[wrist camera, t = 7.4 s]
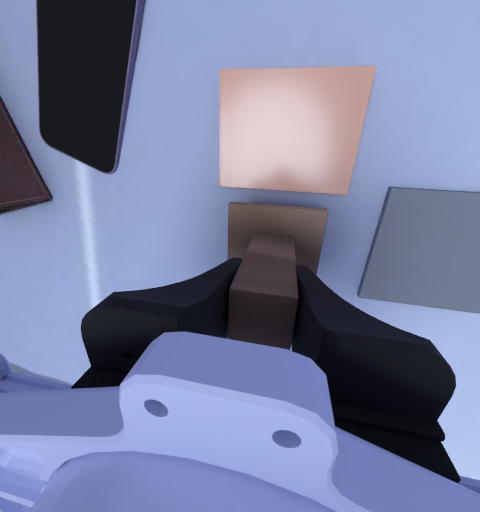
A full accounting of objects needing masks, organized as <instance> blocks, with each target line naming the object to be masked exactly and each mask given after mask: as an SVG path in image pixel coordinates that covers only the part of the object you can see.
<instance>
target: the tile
mask: <svg viewBox="0 0 480 512" xmlns="http://www.w3.org/2000/svg"><path fill="white" fill-rule="evenodd" d="M375 70H376V66H351V67H301V68H251V69H220V186H221V187H236V188H251V189H266V190H281V191H296V192H311V193H326V194H341V195H347V194H348V190H349V186H350V181H351V177H352V172H353V168H354V163H355V159H356V155H357V150H358V146H359V141H360V137H361V132H362V128H363V124H364V119H365V115H366V110H367V106H368V101H369V97H370V93H371V88H372V84H373V79H374V75H375Z"/></svg>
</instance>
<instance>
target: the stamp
mask: <svg viewBox="0 0 480 512" xmlns="http://www.w3.org/2000/svg"><path fill="white" fill-rule="evenodd" d="M327 216H328V210H327V209H325V208H311V207H297V206H284V205H270V204H256V203H243V202H230V203H229V211H228V260H229V259H231V258H233V257H236V258H243V260H242V263H241V264H240V266H239V268H238V271H237V273H236V275H235V277H234V279H233V282H232V284H231V286H230V288H229V322H228V339H231V340H236V341H242V342H248V343H254V344H259V345H265V346H271V347H277V348H282V349H287V350H290V347H291V341H292V334H293V328H294V322H295V316H296V310H297V304H298V285H297V273H296V269H295V267H296V264H297V265H306V266H308V267H309V268H310V269H311V270H312V272H313V273H314V274H315V275H316V273H317V268H318V263H319V257H320V252H321V247H322V242H323V237H324V231H325V226H326V221H327Z"/></svg>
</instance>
